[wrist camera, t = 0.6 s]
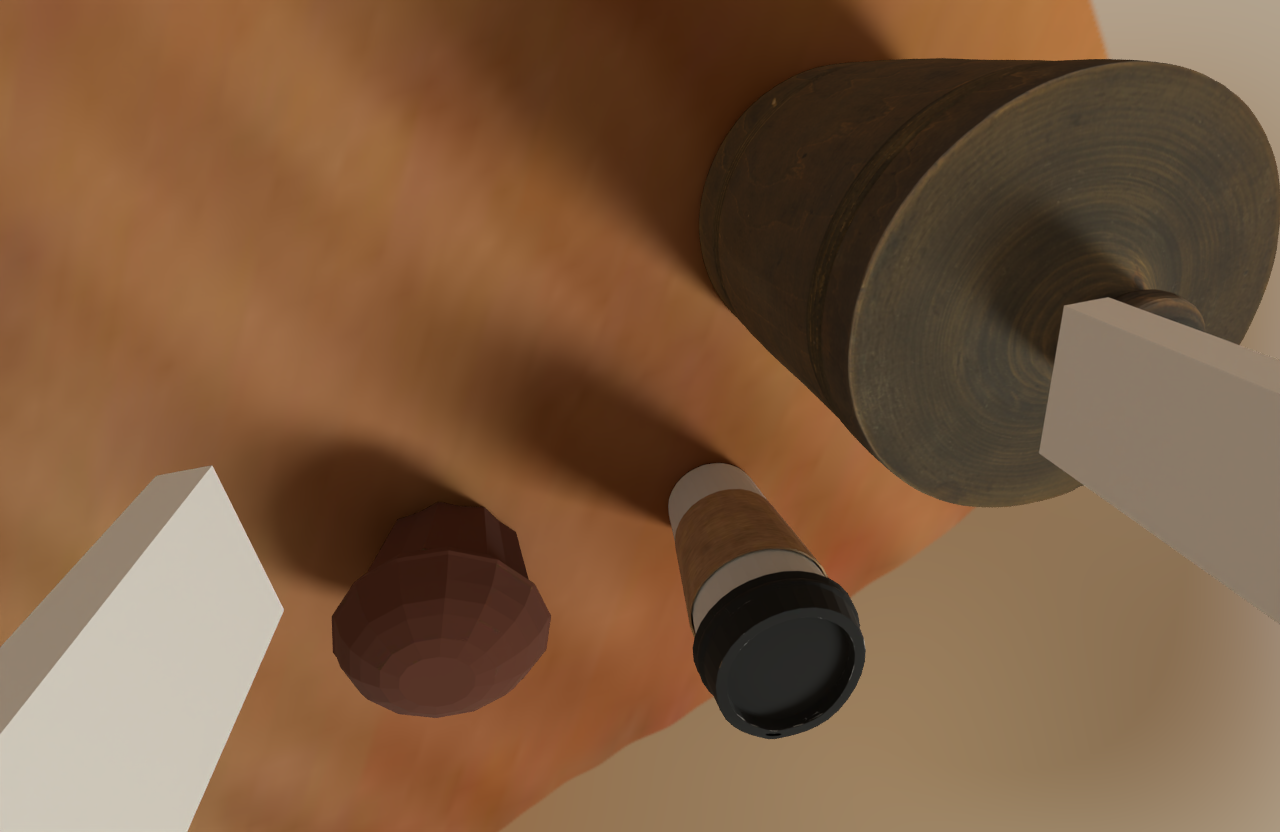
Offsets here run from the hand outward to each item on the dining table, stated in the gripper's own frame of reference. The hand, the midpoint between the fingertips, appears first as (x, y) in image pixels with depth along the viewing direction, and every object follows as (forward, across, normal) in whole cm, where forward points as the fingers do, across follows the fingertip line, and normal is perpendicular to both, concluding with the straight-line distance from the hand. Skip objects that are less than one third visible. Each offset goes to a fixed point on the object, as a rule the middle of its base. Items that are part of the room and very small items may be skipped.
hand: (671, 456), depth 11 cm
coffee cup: (+27, +6, -20) cm, 35 cm away
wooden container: (+27, +14, -3) cm, 31 cm away
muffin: (+27, -11, -21) cm, 36 cm away
